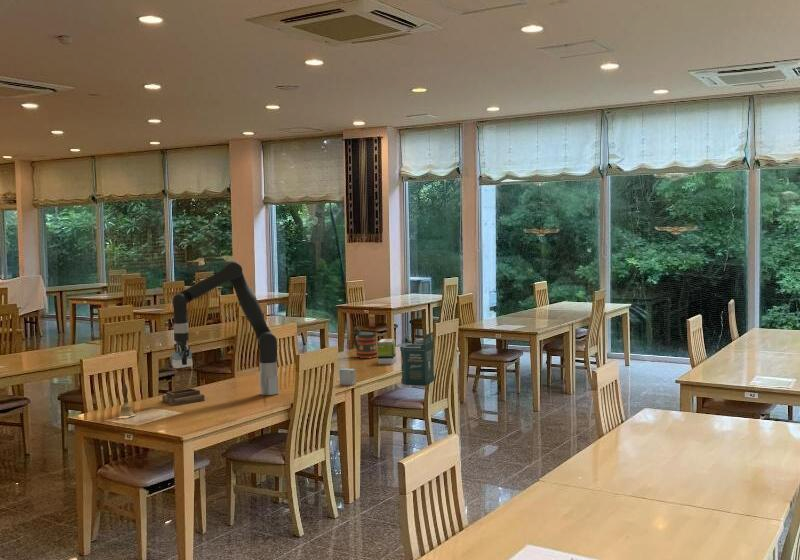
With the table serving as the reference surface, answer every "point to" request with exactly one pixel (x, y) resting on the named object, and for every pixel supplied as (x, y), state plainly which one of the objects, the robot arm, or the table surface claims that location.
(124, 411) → the hand bell
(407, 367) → the donation box
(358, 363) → the table surface
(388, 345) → the tea box
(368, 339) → the beer stein
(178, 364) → the housing
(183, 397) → the walnut stand
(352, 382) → the medicine box
